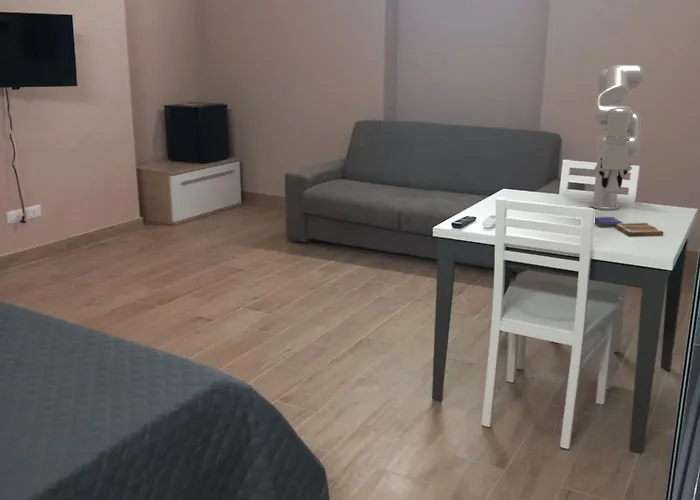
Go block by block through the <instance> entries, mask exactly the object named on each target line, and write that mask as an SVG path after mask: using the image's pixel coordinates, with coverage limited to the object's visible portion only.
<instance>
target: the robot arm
mask: <svg viewBox="0 0 700 500" xmlns="http://www.w3.org/2000/svg"><path fill="white" fill-rule="evenodd" d="M644 80H645V70H644V67H643V66H642V65H640V64H615V65H612V66H610V67H609V68H605V69H602V70H600V72H599V74H598V75H597V86H598V92H599V95H598V96H597V97H596V99H595V102H594V105H593V121H594V123H596V124H597V125H600V126H601V129H602V131H603V132H604V133H606V134H601V135H600V136H599V137H598V138H597V140H596V144H595V145H596V165H595V167H594V170H595V181H594V192H593V201H591V202H589V207H590V206H591V207H590V208H592V207H594V208H593V209H595V208H597V209H596V210H603V211H607V210H608V211H613V210H619V209H620V207H621V204H619V203H618V202H617V201H618V199H617V198H618V193H608V192H603V191H601V190H602V188H603V187H604V188H606V187H607V183H608V178H607V177H608V175H609V170H617V179H618V184H619V188H620V189H621V187H622V185H623V178H624V177H625V175H627V174H628V173H629V172H630V171H631V170H633V167H632V166H631V164H630V163H629V158H636V157H637V156H639V154H640V150H641V138H642V137H641V136H642V118H641V114H640V113H639V112H638V111H634V110H632V108H631V107H630V106H628V105H624V100H625V99H626V98H627V96H628V95H629V90H635V89H639V88H640V87H641V86H643V85H642V84H643V83H644Z"/></svg>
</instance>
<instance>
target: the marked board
mask: <svg viewBox="0 0 700 500" xmlns="http://www.w3.org/2000/svg"><path fill="white" fill-rule="evenodd" d="M622 223H623V222H622ZM614 228H615V229H616V230H618V231H619V232H621V233H622V234H624V235H625V236H627V237H628V238H629V237H632V238H633V237H658V236H659V237H660V236H661V237H663V236H664V231H662V230H661V229H660V228H658V227H655V226H654V225H653V224H650V223H648V222H634V223H633V222H632V223H630V222H629V223H623V224H615V227H614Z"/></svg>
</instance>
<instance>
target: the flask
mask: <svg viewBox="0 0 700 500" xmlns="http://www.w3.org/2000/svg"><path fill="white" fill-rule="evenodd" d="M607 178H608V183H607V187H606V188H604V187H603V188H602V190H601V191H603V192H608V193H617V194H620V193H621V188H619V184H618V179H617V170H609V175H608V177H607Z"/></svg>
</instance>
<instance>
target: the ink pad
mask: <svg viewBox="0 0 700 500" xmlns="http://www.w3.org/2000/svg"><path fill="white" fill-rule="evenodd" d="M594 218H595V225H596V226H598V227H599V228H602V229H603V228H615V224H623V222H622V221H621V220H619V219H618V218H616V217H614V216H601V217H600V216H598V217H594Z"/></svg>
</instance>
